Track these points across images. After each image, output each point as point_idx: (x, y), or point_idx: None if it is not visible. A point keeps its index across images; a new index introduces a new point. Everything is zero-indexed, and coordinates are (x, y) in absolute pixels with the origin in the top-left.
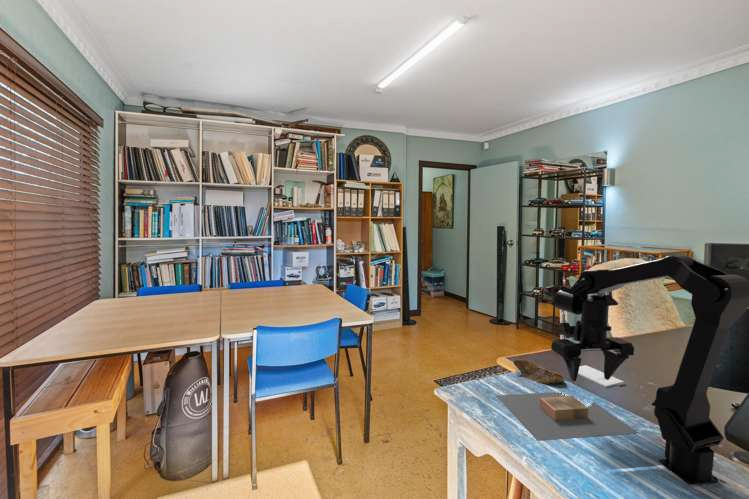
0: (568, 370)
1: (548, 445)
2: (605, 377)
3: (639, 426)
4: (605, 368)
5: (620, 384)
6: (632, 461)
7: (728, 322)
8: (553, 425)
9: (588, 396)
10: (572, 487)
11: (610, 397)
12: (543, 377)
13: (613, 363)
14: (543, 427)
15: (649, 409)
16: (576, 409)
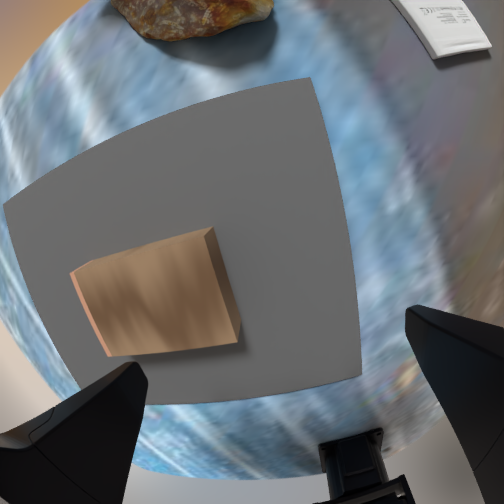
0: (79, 396)
1: None
2: (409, 321)
3: (397, 329)
4: (451, 350)
5: (479, 50)
6: (265, 446)
7: None
8: (119, 361)
9: (340, 115)
10: (141, 466)
11: (425, 125)
12: (162, 17)
13: (477, 452)
14: (97, 366)
15: (489, 215)
16: (184, 348)
